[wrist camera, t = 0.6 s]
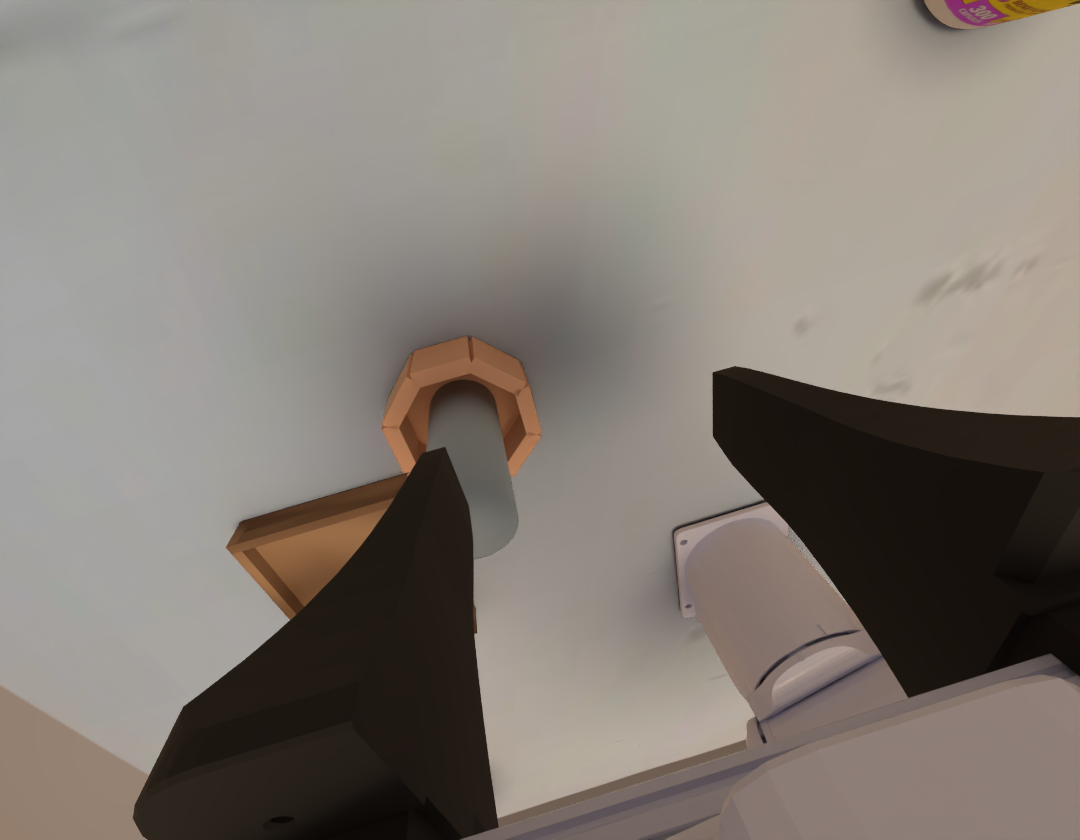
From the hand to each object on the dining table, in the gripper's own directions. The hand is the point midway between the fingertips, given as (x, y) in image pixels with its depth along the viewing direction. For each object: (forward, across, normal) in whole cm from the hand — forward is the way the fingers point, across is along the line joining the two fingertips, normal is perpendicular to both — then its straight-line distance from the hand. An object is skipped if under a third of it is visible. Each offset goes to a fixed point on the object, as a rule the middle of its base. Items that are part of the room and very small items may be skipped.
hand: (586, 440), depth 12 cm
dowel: (+10, +4, +3) cm, 11 cm away
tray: (+10, +12, +12) cm, 20 cm away
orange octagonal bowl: (+10, +4, +3) cm, 12 cm away
